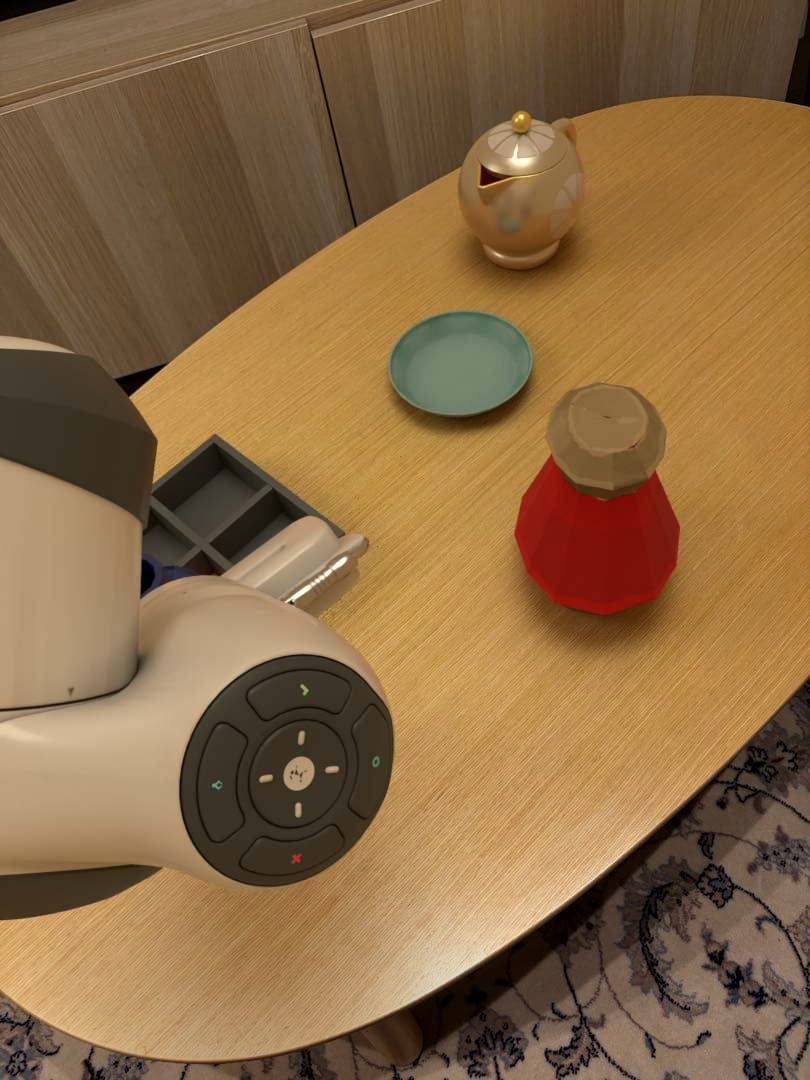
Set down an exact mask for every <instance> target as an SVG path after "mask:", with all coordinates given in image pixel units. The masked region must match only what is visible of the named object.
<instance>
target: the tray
mask: <svg viewBox="0 0 810 1080" xmlns="http://www.w3.org/2000/svg"><path fill="white" fill-rule="evenodd" d="M306 516H314V517H317V518H320V519H321V520H323V521H325V522H326V523H327V524H328V525H329V527H330V528H331V529H332V531H333V532H334V534H335V535H336V536H337V538H338V539H339V538H340V537H343V536H345V535H346V531H345V530H343V529H342V528H340V527H339V526H337V524H335V523H334V522H332V521H331V520H330V519H329V518H327V517H326V516H324V515H323V514H321V512H319V511H318V510H316V509H315V508H314V507H313V506H311V505H310V504H309V503H308V502H306V501H305V500H304V499H303V498H301V497H300V496H298V495H297V494H296V493H294V491H291V490H290V489H289V488H288V487H287V486H285V485H284V484H282V483H281V482H280V481H279V480H277V479H276V478H275V477H273V476H272V475H271V474H270V473H268V472H267V471H265V470H264V469H263V468H261V467H260V466H259V465H258V464H256V463H255V462H254V461H252V460H251V459H250V458H248V457H247V456H246V455H244V454H243V453H242V452H241V451H239V450H238V449H237V448H235V447H234V446H233V445H231V444H230V443H229V442H227V441H226V440H224V439H223V438H222V437H221V436H219V435H218V434H217V433H214V434H212V435H211V436H210V437H208V438H207V439H205V441H204V442H202V443H201V444H200V445H199V446H198V447H196V448H195V449H194V450H193V451H191V452H190V453H189V454H188V455H186V456H185V457H184V458H183V459H181V460H180V461H179V462H178V463H177V464H175V465H174V466H173V467H171V468H170V469H169V470H168V471H167V472H165V473H164V474H163V475H162V476H161V477H159V478H158V479H157V480H156V481H155V482H153V484H152V492H151V500H150V507H149V515H148V523H147V527H146V529H144V530H143V531H142V553H143V554H150V555H152V556H153V557H154V558H155V559H157V560H158V561H159V562H160V563H161V565H162V566H172V565H177V566H180V567H184V568H187V569H190V570H194V571H195V572H196V573H197V574H199V575H200V576H201V575H208V576H219V577H220V576H221V575H223V574H224V573H225V572H227V571H228V570H229V569H231V568H232V567H233V566H235V565H236V564H237V563H239V562H240V561H242V560H243V559H244V558H246V557H247V556H248V555H250V554H251V553H252V552H254V551H255V550H256V549H258V548H259V547H261V546H262V545H263V544H265V543H266V542H267V541H269V540H270V539H271V538H273V537H274V536H275V535H277V534H278V533H280V532H281V531H282V530H284V529H285V528H286V527H288V526H289V525H290V524H292V523H294V522H295V521H297V520H299V519H301V518H304V517H306Z"/></svg>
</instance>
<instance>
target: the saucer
mask: <svg viewBox="0 0 810 1080" xmlns="http://www.w3.org/2000/svg"><path fill="white" fill-rule="evenodd" d="M387 361H388V362H387V373H388V377H389V378H388V379H389V380H390V382H391V385H392V387H393V388H394V390H395V392H396V393H397V394H398V395H399V396H400V397H401V398H402V400H404V401H406V402H407V403H408V404H410V405H411V406H413V407H415V408H416V409H418V410H420V411H423V412H425V413H428V414H431V415H435V416H439V417H446V418H468V417H473V416H478V415H482V414H484V413H487V412H490V411H492V410H494V409H496V408H498V407H500V406H502V405H504V403H506V402H508V401H509V400H510V399H512V398H513V397H514V396H515V395H516V394H517V393H518V392H519V391H520V390H521V389H522V388H523V387H524V385H525V384H526V382H527V381H528V380H529V377H530V375H531V372H532V369H533V362H534V355H533V349H532V346H531V344H530V342H529V340H528V339H527V336H526V335H525V334H524V333H523V331H522V330H521V329H520V328H519V327H517V326H516V324H513V323H512V322H511V321H509V320H507V319H506V318H504V317H501V316H500V315H496V314H494V313H489V312H486V311H481V310H470V309H463V310H461V309H458V310H449V311H445V312H440V313H435V314H433V315H430V316H428V317H426V318H423V319H421V320H419V321H417V322H416V323H414V324H412V325H411V326H410V327H408V328H407V329H406V330H405V331H404V332H403V333H402V334H401V335H400V336H399V337H398V339H397V340H396V341H395V342H394V344H393V346H392V348H391V350H390V353H389V356H388V360H387Z"/></svg>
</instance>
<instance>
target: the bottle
mask: <svg viewBox="0 0 810 1080" xmlns="http://www.w3.org/2000/svg"><path fill="white" fill-rule="evenodd" d="M667 432H668V430H667V428H666V426H665V423H664V421H663V420H662V418H661V416H660V414H659V412H658V409H657V408H656V406H655V405H654V404H653V403H652V402H651V401H650V400H648V398H646V397H645V396H644V395H643V394H642V393H640V392H639V391H638V390H637V389H636V388H635V387H631V386H625V385H618V384H612V383H607V382H602V381H597V382H594V383H590V384H588V385H584V386H580V387H578V388H575V389H571V390H567V391H565V392H564V394H563V395H562V396H561V397H560V399H558V401H557V402H556V404H555V405H554V407H553V408H552V409H551V411H550V413H549V417H548V421H547V426H546V431H545V436H544V438H545V440H546V443H547V445H548V448H549V452H550V455H549V456H548V458H547V459H546V461H545V462H544V463H543V465H542V467H541V468H540V470H539V471H538V473H537V474H536V475H535V477H534V478H533V480H532V482H531V483H530V485H529V486H528V488H527V489H526V491H525V492H524V493H523V495H522V496H521V500H520V504H519V509H518V514H517V518H516V522H515V526H514V527H515V528H514V531H513V536H514V538H515V542H516V545H517V547H518V550H519V553H520V556H521V560H522V562H523V565H524V567H525V571H526V573H527V574H528V575H529V576H530V577H531V579H532V580H533V581H534V582H535V583H536V585H538V586H539V587H540V589H541V590H542V591H543V593H545V595H547V596H548V598H549V599H550V600H551V602H553V604H555V605H556V604H557V605H559V606H561V607H565V608H567V609H572V610H574V611H581V612H584V613H587V614H592V615H596V616H597V615H598V616H599V615H600V616H608V615H611V614H614V613H618V612H622V611H624V610H627V609H630V608H634V607H636V606H640V605H642V604H645V603H648V602H651V601H655V600H657V599H658V597H659V595H660V593H661V592H662V591H663V589H664V587H665V585H666V584H667V583H668V581H669V580H670V577H671V576H672V574H673V572H674V571H675V569H676V567H677V564H678V554H679V543H680V533H681V525H680V523H679V520H678V518H677V516H676V513H675V512H674V511H675V510H674V509H673V507H672V504H671V501H670V499H669V497H668V496H667V493H666V490H665V488H664V486H663V484H662V482H661V479H660V477H659V474H658V472H657V470H656V469H657V468H658V466H659V465H660V463H661V462H662V461H663V459H664V457H665V451H666V450H665V449H666V441H667V434H668V433H667Z"/></svg>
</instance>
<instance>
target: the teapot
mask: <svg viewBox="0 0 810 1080" xmlns="http://www.w3.org/2000/svg"><path fill="white" fill-rule="evenodd" d="M577 138H578V135H577V130H576V126H575V124H574V123H573V121H572V120H571V119H570V118H567V117H561V118H558V119H556V120H554V121H553V122H552V123H548V122H546V121H542V120H538V119H534V118H532V117H531V115H530V114H529V112H526V111H525V110H519V111H517V112H515V113H514V114H513V115H512V116H511V120H506V121H504V122H501V123H499V124H497V125H495V126H493V127H491V128H490V129H488V130H487V131H486V132H484V133H483V134H482V135H481V136H480V137H479V138H478V139H477V140H476V141H475V142H474V143H473V145H472V146H471V147H470V149H469V151H468V152H467V154H466V156H465V158H464V160H463V162H462V165H461V168H460V171H459V176H458V182H457V183H458V184H457V196H458V197H457V198H458V204H459V209H460V212H461V215H462V218H463V220H464V222H465V224H466V226H467V227H468V229H469V230H470V232H471V233H472V234H473V235H474V236H475V238H476V239H478V241H480V242H481V245H482V250H483V252H484V254H485V256H486V257H487V258H488V259H489V261H490V262H492V263H494V264H495V265H497V266H498V267H502V268H504V269H509V270H518V271H520V270H529V269H533V268H536V267H539V266H542V265H544V264H545V263H547V262H548V261H550V260H551V259H552V258H553V256H554V255H555V254H556V253H557V251H558V249H559V245H560V242H561V239H562V238H563V237H564V236H565V235H566V234H567V233H568V232H569V230H570V229H571V228H572V227H573V225H574V224H575V222H576V220H577V218H578V216H579V214H580V212H581V209H582V207H583V203H584V198H585V193H586V174H585V168H584V164H583V161H582V158H581V155H580V154H579V152H578V149H577V144H578V143H577V141H578V140H577Z"/></svg>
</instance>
